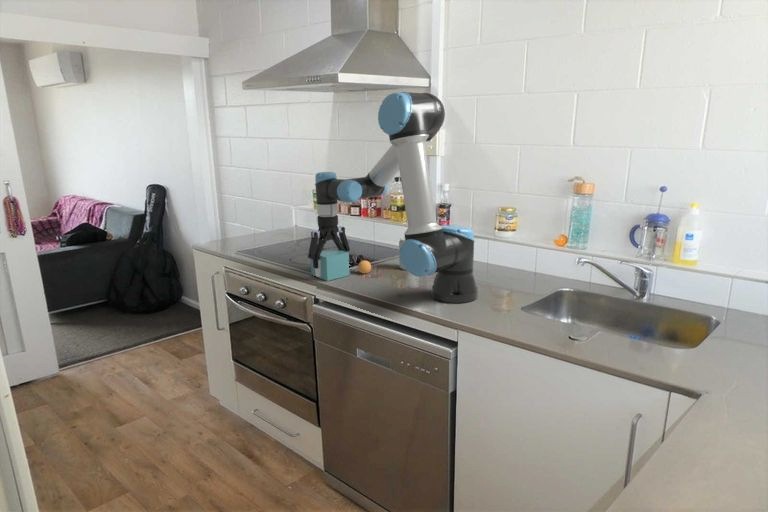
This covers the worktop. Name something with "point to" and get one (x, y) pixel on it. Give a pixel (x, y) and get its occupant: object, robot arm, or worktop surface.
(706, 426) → the worktop surface
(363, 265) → the ball
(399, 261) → the beverage can
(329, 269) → the teal foam cube
